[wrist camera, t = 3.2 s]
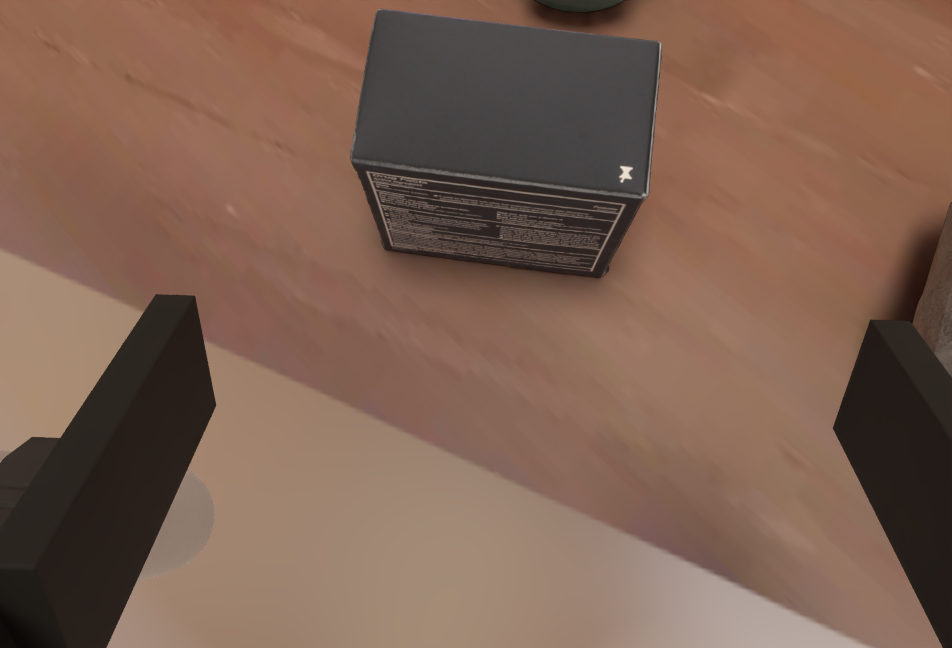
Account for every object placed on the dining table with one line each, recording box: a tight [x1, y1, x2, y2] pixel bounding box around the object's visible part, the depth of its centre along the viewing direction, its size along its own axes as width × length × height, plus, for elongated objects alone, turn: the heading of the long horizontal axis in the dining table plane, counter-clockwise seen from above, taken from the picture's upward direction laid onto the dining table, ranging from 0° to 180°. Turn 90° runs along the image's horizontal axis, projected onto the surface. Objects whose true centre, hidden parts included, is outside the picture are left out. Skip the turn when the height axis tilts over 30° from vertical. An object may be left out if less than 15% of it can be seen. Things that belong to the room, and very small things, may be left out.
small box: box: [350, 9, 662, 278], centre depth 34 cm, size 11×6×10 cm, turn 83°
